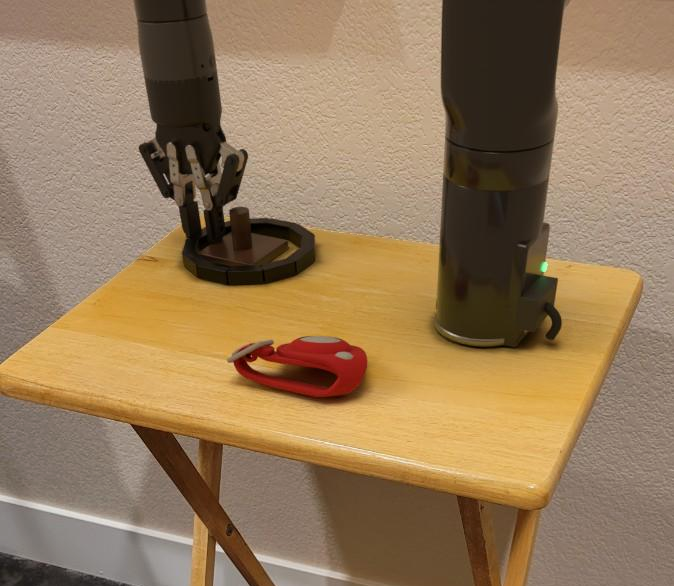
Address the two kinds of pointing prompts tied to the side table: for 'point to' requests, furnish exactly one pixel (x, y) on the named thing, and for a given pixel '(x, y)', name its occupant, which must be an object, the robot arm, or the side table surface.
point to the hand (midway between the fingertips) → (205, 238)
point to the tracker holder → (306, 363)
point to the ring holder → (243, 244)
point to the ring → (252, 272)
